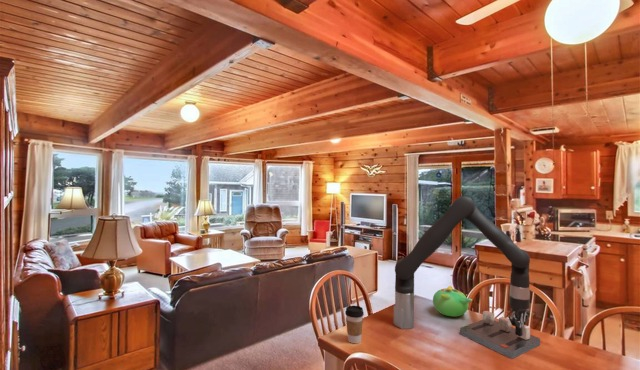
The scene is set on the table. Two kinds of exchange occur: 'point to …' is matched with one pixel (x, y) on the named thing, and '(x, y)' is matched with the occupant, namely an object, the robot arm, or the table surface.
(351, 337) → the coffee cup
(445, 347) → the table surface
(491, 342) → the switch panel
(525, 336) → the white rectangular block
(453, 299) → the green rounded blob
